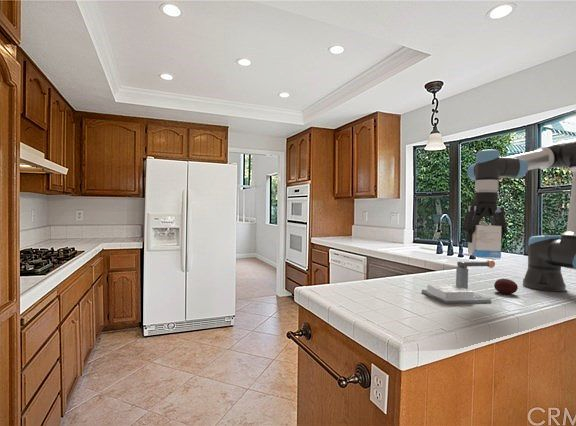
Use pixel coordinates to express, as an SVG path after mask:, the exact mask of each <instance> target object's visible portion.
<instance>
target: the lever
mask: <svg viewBox="0 0 576 426" xmlns="http://www.w3.org/2000/svg"><path fill="white" fill-rule="evenodd" d="M456 263H457V264H456V267H460V268H468V267H487V268H490V269H493V268H495V265H496V263H495V261H494V260H492V259H488V260H486V261H457V262H456Z"/></svg>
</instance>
